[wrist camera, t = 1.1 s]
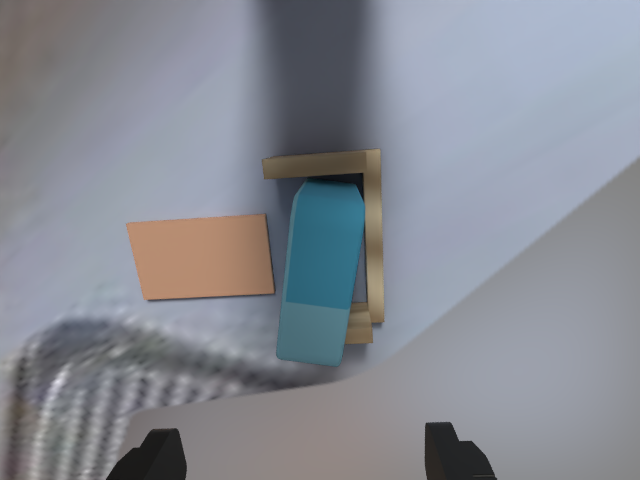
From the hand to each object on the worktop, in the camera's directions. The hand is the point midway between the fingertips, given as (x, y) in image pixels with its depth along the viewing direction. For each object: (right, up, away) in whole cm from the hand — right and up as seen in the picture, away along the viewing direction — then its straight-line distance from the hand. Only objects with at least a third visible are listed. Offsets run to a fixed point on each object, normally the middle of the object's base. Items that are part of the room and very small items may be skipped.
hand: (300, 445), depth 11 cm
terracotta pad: (-11, +5, +23) cm, 26 cm away
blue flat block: (+1, +7, +23) cm, 24 cm away
